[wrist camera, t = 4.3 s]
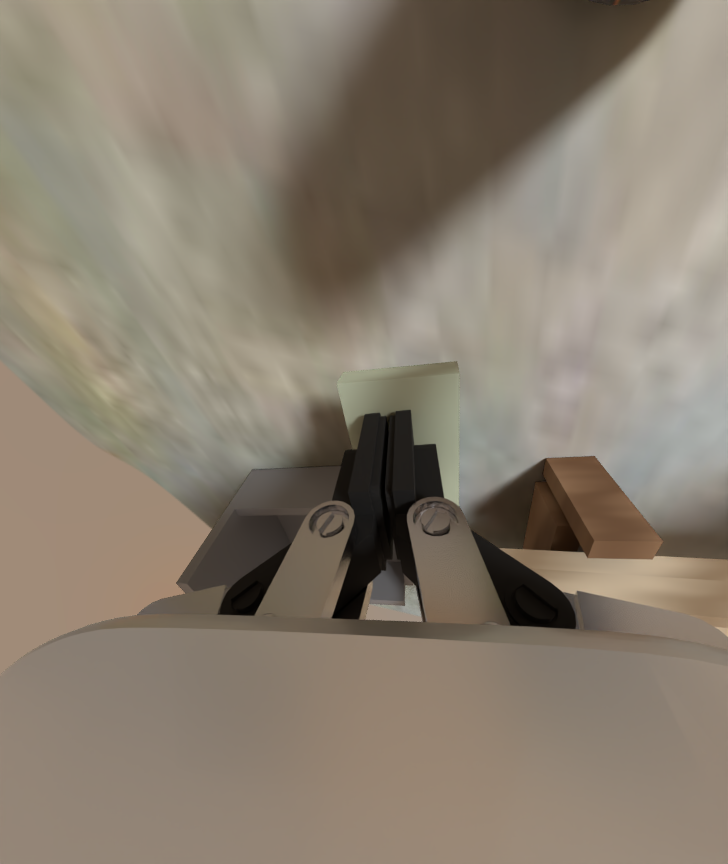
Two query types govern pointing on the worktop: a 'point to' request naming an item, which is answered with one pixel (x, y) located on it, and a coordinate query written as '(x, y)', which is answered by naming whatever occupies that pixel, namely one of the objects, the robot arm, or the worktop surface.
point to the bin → (273, 531)
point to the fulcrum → (586, 514)
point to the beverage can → (618, 2)
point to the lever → (569, 571)
